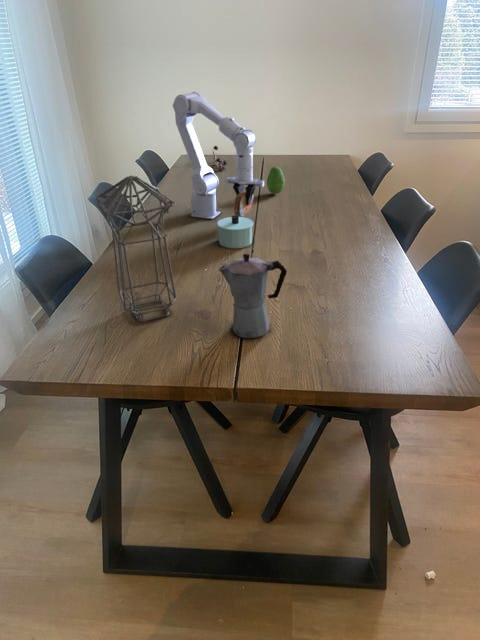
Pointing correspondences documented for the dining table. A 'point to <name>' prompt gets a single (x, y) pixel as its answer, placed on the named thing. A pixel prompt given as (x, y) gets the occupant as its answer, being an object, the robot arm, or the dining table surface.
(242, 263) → the moka pot
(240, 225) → the pot lid
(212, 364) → the dining table surface
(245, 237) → the pot
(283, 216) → the dining table surface
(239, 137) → the robot arm
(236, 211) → the tin
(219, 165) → the decorative branch
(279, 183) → the avocado
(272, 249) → the dining table surface
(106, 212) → the geometric lantern
